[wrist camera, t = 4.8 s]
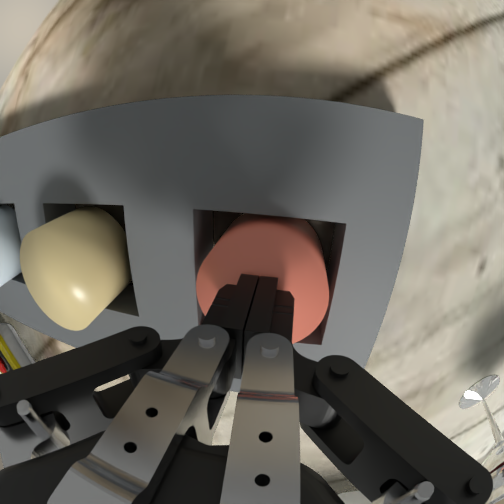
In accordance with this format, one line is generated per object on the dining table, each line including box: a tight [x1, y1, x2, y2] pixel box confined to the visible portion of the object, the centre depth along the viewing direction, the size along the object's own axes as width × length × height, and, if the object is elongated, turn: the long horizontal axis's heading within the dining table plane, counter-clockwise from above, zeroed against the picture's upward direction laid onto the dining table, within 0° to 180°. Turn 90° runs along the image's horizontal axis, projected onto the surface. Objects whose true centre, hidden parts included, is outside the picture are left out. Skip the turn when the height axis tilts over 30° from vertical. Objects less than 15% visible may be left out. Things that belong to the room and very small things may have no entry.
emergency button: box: [0, 323, 35, 374], centre depth 26 cm, size 9×4×15 cm
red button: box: [196, 213, 329, 344], centre depth 13 cm, size 6×6×4 cm
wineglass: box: [459, 375, 504, 504], centre depth 12 cm, size 7×7×12 cm
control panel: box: [0, 95, 423, 392], centre depth 15 cm, size 32×16×3 cm, turn 87°
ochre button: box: [20, 206, 132, 331], centre depth 13 cm, size 6×6×4 cm
